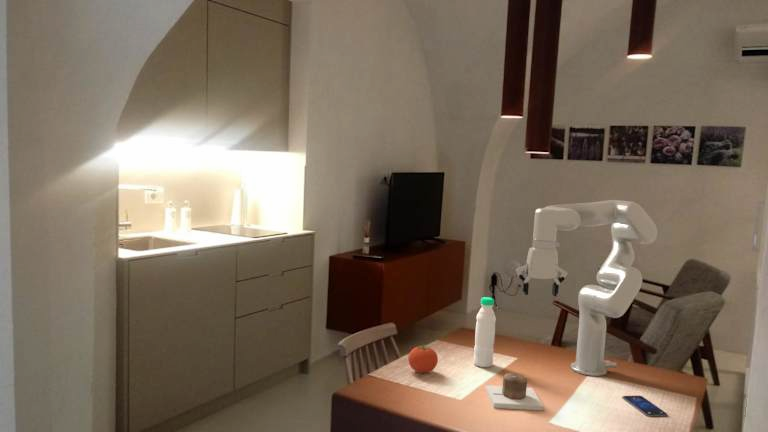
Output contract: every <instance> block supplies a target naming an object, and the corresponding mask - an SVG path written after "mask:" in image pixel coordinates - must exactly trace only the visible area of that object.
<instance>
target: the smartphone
mask: <svg viewBox="0 0 768 432" xmlns="http://www.w3.org/2000/svg"><path fill="white" fill-rule="evenodd" d="M621 399H623V401H625V402H626V403H628V404H629V405H631V407H633V408H635V409H636V410H637V411H639V412H640V413H641V414H643V415H644V416H645V417H647V418H658V417H659V418H668V417H669V414H668V413H667V412H665V411H664V410H662V409H661V408H660V407H658V406H657V405H656V404H654V403H653V402H651V401H650V400H648V399H647V398H645V397H644V396H642V395H622V397H621Z"/></svg>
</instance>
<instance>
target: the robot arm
mask: <svg viewBox="0 0 768 432" xmlns="http://www.w3.org/2000/svg"><path fill="white" fill-rule="evenodd" d="M533 222H534V223H533V234H532V243H531V246H532V247H529V248H528V253H527V257H526V264H525V265H522V266H520V267H517V268H516V269H515V272H516V274H517V276H518V277H519V279H520V280H521V282H522V292H523V294H524V295H525V296H528V295H529V285H530V284H529V281H530V280H532V279H538V280H539V279H540V280H553V283H552V287H551V295H552V296H553V297H555V298H556V297H557V294H559V289H560V288H559V286H560V285H561V283H562V282H563V281H564V280H565V279H566V278H567V276H568V274H569V272H567V271H566V270H565V269H563V268H561V267H560V266H559V255H558V250H557V247H560V246H561V243H560V242H558V241H557V234H558V230H560V231H567V232H570V231H573V230H576V229H577V228H578V227H599V226H605V225H609V224H611V227H610V232H611V238H612V240H611V241H612V247H611V251H610V252H609V254H608V256H607V258H606V259H605V261H604V262H603V263H602V265H601V267H600V268H599V269H598V271H597V273H596V281H597V283H598V284H599V285H596V284H587V285H584V286H583V287H581V289H580V290H579V292H578V296H577V299H578V302H577V303H578V309H579V315H578V318H579V320H578V332H577V342H576V353H575V361H573V362H571V364H570V368H571V369H572V371H574V372H576V373H579V374H581V375H584V376H585V375H586V376H592V377H601V376H605V375H607V373H608V370H607V369H608V368H613V369H616V368H617V366H618V365H617V362H614V361H613V362H612V361H611V360H605V359H604V358H605V357H604V356H605V346H606V335H607V320H606V317H610V318H613V319H617V318H620V317H622V316H624V314H625V313H626V312H627V311H628V310H629V307H630V306H631V304H632V303H633V301H634V300H635V297H636V296H637V295H638V293H639V291H640V290H641V288H642V284H643V276H642V273H641V271H640V270H639V269H638V268H636V267H633V266H632V264H633V263H634V261H635V251H634V248H633V246H632V243H636V244H641V245H650V244H652V243H654V242H655V241H656V240H657V237H658V229H657V228H658V227H657V226H656V223H655V222H654V221H653V219H652V218H651V217H650V216H649V214H648V213H647V212H646V210H645V209H644V208H643V207H642V206H641V205H640V204H639V203H637V202H634V201H630V200H629V201H627V200H621V199H620V200H619V199H610V200H609V199H608V200H600V201H593V202H580V203H579V202H578V203H565V204H564V203H561V204H554V205H547V206H544V207H538V208H537V209H535V212H534V221H533ZM523 271H525V275H523V274H522V273H523ZM559 273H560V274H561V275H560V276H559V277H558V275H559Z"/></svg>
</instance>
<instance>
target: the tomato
mask: <svg viewBox="0 0 768 432" xmlns="http://www.w3.org/2000/svg"><path fill="white" fill-rule="evenodd" d="M438 359H439V358H438V354H437V353H436V351H435V350H434V349H433V348H432V347H430V346H427V345H426V346H425V344H423V345H419V346H415V347H414V348H413V349H411V351H410V352H409V354H408V363H409V366H410V367H411V368H412V370H413V371H414V372H417V373H418V374H419V373H420V374H427V373H430V372H432V371H433V370H435V368H436V366H437V365H438V363H439V362H438Z"/></svg>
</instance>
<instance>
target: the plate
mask: <svg viewBox="0 0 768 432" xmlns="http://www.w3.org/2000/svg"><path fill="white" fill-rule="evenodd" d="M502 388H503V385H485V391H487V392H486V394H487V396H488V399H489V401H490V403H491V405H492V407H493V409H507V410H508V409H510V410H528V411H529V410H531V411H532V410H533V411H543V410H544V405H543V403H542V401H541V399H540V398H539V396H538V394H536V392H535V390H534V389H533V387H527V388H526V398H523V399H521V400H518V399H510V398H508V397H505V396H504V395H503V393H502Z"/></svg>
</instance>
